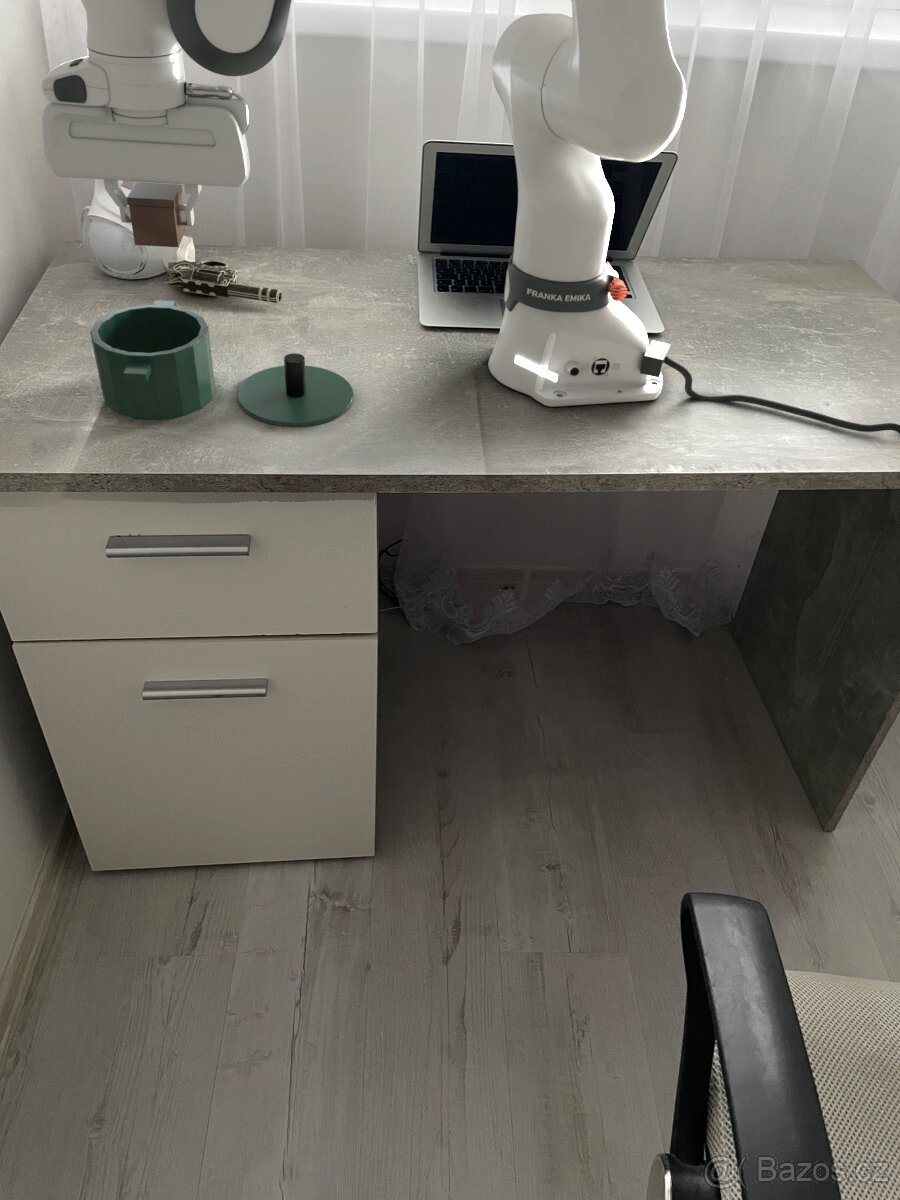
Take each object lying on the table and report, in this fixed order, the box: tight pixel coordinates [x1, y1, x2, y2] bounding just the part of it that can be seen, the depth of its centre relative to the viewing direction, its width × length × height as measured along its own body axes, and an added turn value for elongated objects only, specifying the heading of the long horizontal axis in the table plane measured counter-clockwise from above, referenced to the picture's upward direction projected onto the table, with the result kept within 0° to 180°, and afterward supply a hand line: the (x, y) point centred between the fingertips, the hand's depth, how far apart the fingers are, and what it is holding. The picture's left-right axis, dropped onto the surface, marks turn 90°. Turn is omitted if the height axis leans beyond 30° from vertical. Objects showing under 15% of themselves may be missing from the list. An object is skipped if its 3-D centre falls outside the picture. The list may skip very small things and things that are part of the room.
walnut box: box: [126, 181, 187, 248], centre depth 101 cm, size 5×5×5 cm
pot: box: [89, 299, 216, 421], centre depth 109 cm, size 13×18×8 cm
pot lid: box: [237, 352, 354, 428], centre depth 112 cm, size 14×14×6 cm
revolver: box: [164, 235, 282, 304], centre depth 135 cm, size 4×21×12 cm
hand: (158, 222), depth 102 cm, fingers closed on walnut box, 4 cm apart
